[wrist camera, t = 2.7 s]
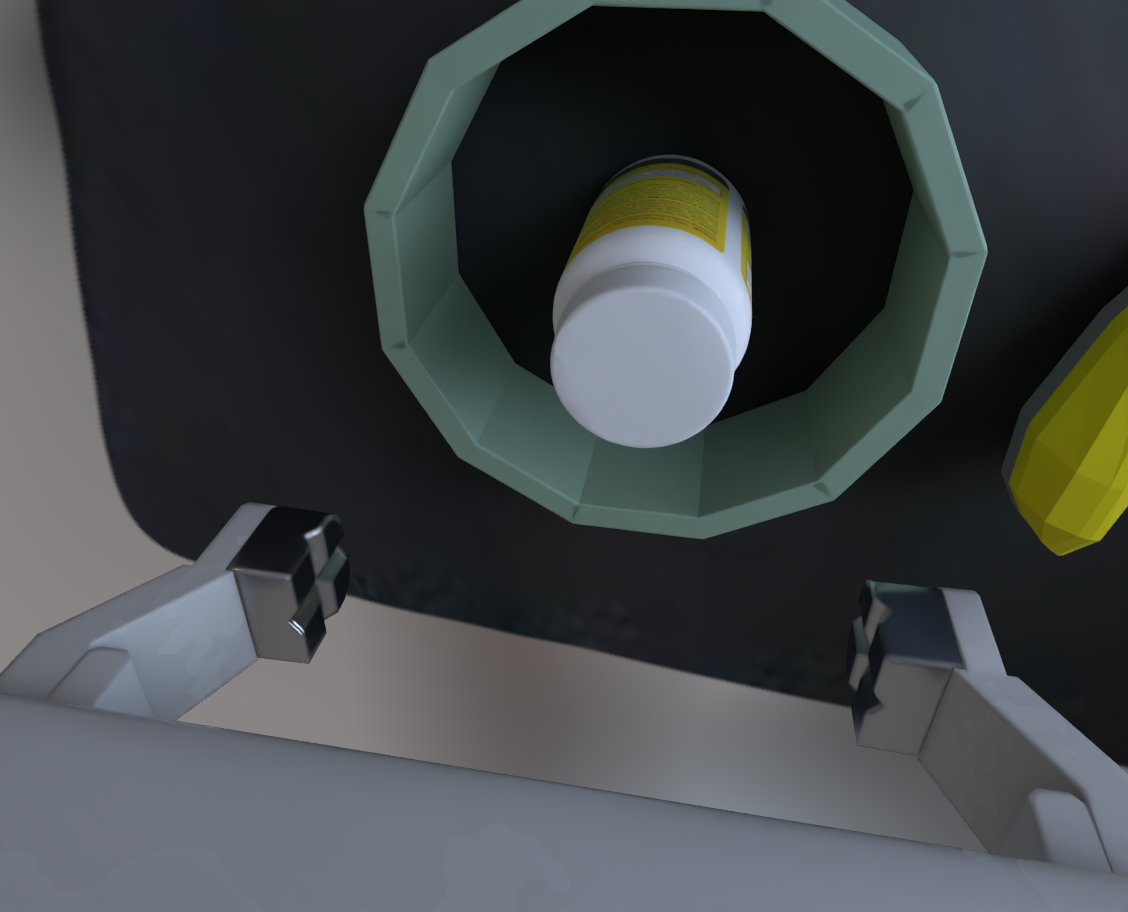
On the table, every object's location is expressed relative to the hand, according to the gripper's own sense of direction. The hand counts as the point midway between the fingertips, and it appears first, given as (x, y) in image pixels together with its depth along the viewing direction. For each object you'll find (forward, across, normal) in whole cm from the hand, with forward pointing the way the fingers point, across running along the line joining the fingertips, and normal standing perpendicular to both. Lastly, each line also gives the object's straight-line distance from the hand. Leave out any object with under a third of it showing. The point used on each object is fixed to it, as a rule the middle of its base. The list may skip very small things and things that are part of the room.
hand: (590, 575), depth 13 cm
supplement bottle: (+15, 0, 0) cm, 15 cm away
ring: (+15, 0, 0) cm, 15 cm away
